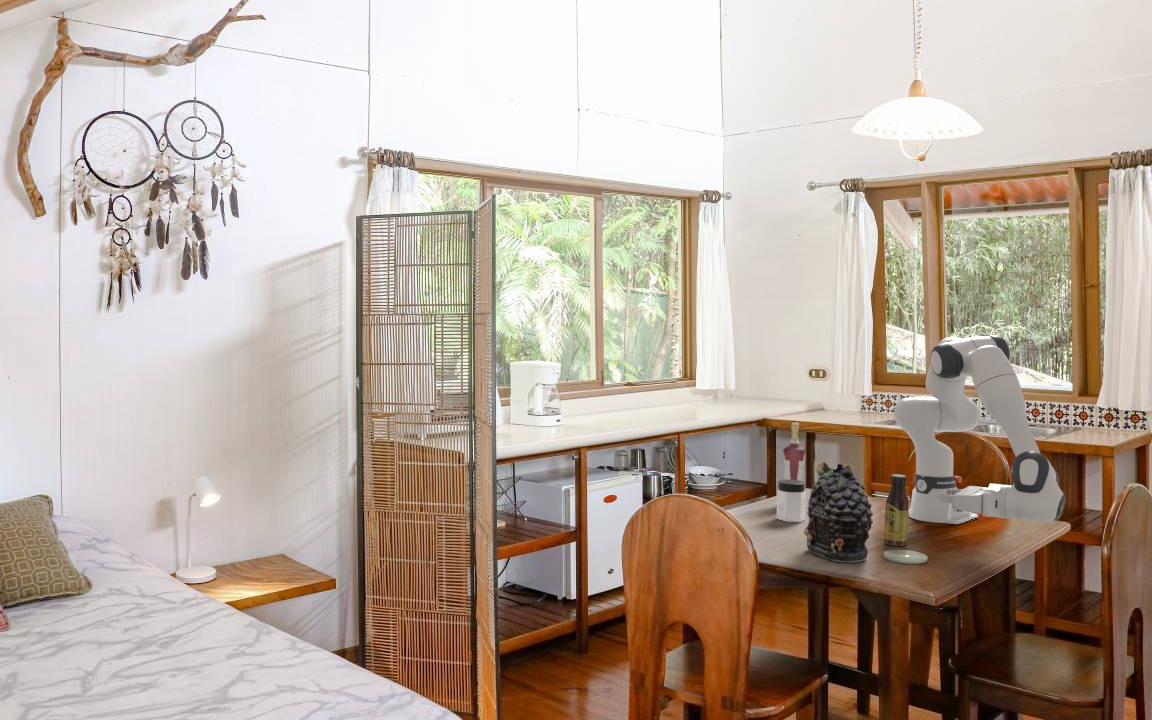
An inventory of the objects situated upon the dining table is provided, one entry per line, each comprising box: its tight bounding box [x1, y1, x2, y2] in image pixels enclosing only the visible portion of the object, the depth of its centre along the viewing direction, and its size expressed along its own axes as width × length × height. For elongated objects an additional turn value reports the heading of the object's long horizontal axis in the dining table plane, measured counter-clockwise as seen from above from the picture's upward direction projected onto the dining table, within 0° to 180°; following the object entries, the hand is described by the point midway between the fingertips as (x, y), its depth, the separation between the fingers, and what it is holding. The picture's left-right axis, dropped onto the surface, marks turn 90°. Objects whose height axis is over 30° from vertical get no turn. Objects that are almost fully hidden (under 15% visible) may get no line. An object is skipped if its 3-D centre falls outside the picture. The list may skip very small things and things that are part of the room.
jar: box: [776, 479, 807, 523], centre depth 301 cm, size 9×8×12 cm
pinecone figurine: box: [802, 461, 874, 563], centre depth 257 cm, size 21×15×25 cm
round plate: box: [883, 549, 928, 565], centre depth 256 cm, size 11×11×1 cm
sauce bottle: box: [883, 473, 910, 547], centre depth 271 cm, size 7×6×20 cm
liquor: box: [782, 422, 806, 482], centre depth 323 cm, size 7×7×28 cm
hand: (942, 494), depth 263 cm, fingers open, 8 cm apart
